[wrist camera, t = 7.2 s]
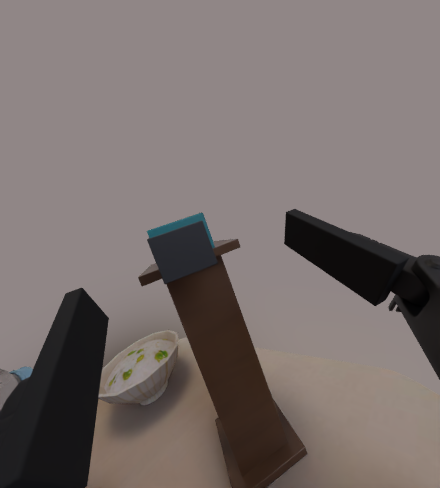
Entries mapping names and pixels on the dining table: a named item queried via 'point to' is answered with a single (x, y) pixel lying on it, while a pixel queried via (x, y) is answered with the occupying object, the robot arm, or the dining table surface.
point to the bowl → (140, 370)
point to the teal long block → (182, 247)
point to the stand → (232, 375)
